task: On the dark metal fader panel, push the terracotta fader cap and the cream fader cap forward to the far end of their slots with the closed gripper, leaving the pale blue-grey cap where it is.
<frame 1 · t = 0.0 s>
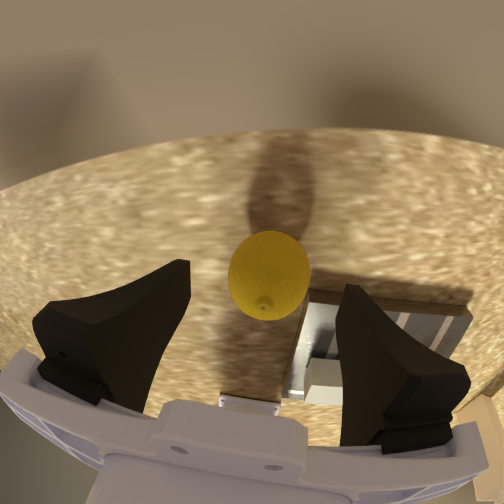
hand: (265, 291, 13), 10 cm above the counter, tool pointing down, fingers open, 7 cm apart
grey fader: (328, 382, 23), point 4 cm above the counter, slide at 0.0 cm
milk: (473, 404, 31), on the counter
lemon: (273, 247, 23), on the counter
panel: (375, 352, 26), on the counter
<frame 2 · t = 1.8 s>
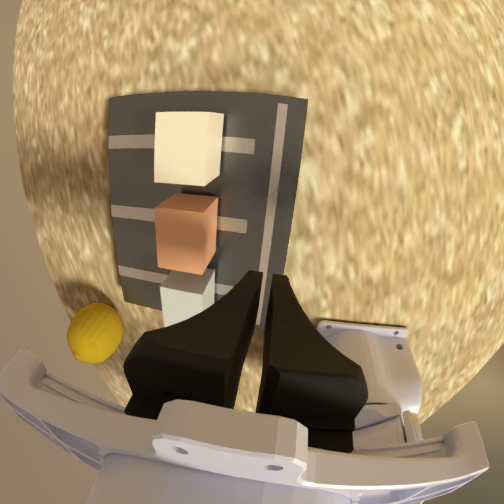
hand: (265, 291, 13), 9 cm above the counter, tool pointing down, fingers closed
cream fader: (189, 145, 15), point 4 cm above the counter, slide at 0.0 cm
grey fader: (189, 300, 20), point 4 cm above the counter, slide at 0.0 cm
terracotta fader: (187, 231, 18), point 4 cm above the counter, slide at 0.0 cm
lemon: (114, 308, 28), on the counter
panel: (199, 210, 21), on the counter
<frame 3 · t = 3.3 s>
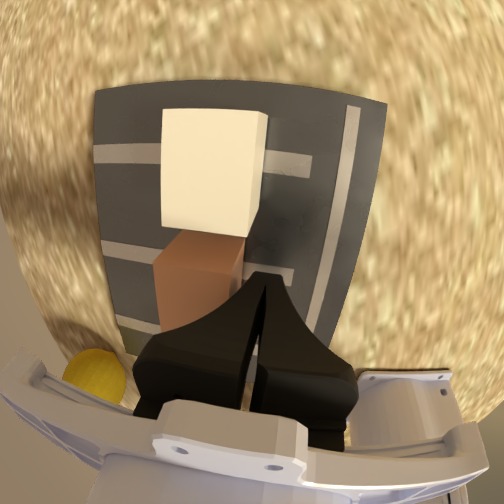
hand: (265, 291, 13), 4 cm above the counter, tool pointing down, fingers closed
cream fader: (217, 164, 10), point 4 cm above the counter, slide at 0.0 cm
terracotta fader: (202, 288, 12), point 4 cm above the counter, slide at 0.5 cm, touching gripper
lemon: (114, 352, 23), on the counter
panel: (223, 249, 16), on the counter
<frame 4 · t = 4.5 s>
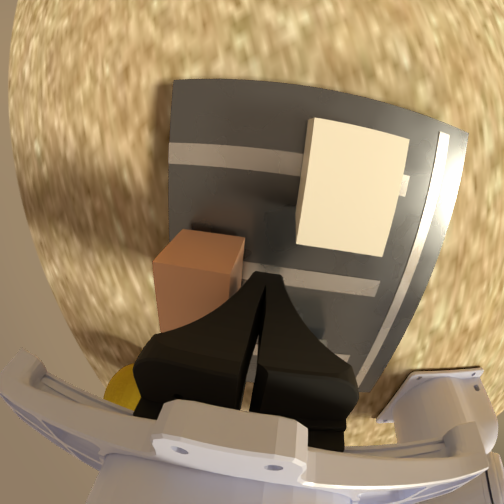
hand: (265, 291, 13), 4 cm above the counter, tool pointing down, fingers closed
cream fader: (344, 180, 9), point 4 cm above the counter, slide at 0.0 cm
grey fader: (293, 381, 14), point 4 cm above the counter, slide at 0.0 cm
terracotta fader: (202, 288, 12), point 4 cm above the counter, slide at 5.1 cm, touching gripper
lemon: (156, 365, 22), on the counter
panel: (303, 260, 16), on the counter
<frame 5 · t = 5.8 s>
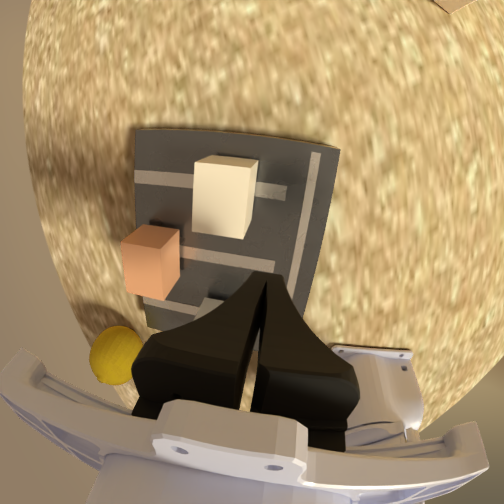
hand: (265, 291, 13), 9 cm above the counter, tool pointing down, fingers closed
cream fader: (226, 193, 16), point 4 cm above the counter, slide at 0.0 cm
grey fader: (217, 332, 21), point 4 cm above the counter, slide at 0.0 cm
terracotta fader: (152, 261, 19), point 4 cm above the counter, slide at 5.1 cm
lemon: (133, 329, 29), on the counter
panel: (226, 246, 22), on the counter
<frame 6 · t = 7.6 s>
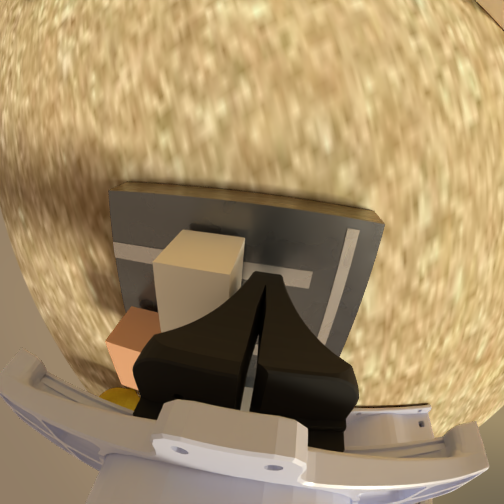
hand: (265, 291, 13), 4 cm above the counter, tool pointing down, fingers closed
cream fader: (202, 288, 12), point 4 cm above the counter, slide at 1.4 cm, touching gripper
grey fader: (226, 416, 17), point 4 cm above the counter, slide at 0.0 cm
terracotta fader: (146, 352, 15), point 4 cm above the counter, slide at 5.1 cm
lemon: (134, 388, 25), on the counter
panel: (233, 324, 18), on the counter
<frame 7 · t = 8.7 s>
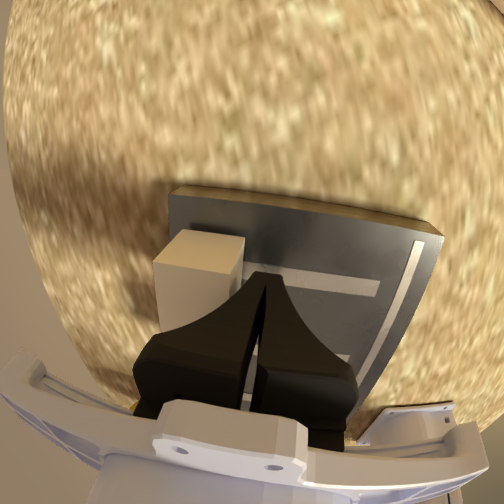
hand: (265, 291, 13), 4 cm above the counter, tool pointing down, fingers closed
cream fader: (202, 288, 12), point 4 cm above the counter, slide at 5.1 cm, touching gripper
panel: (287, 332, 18), on the counter
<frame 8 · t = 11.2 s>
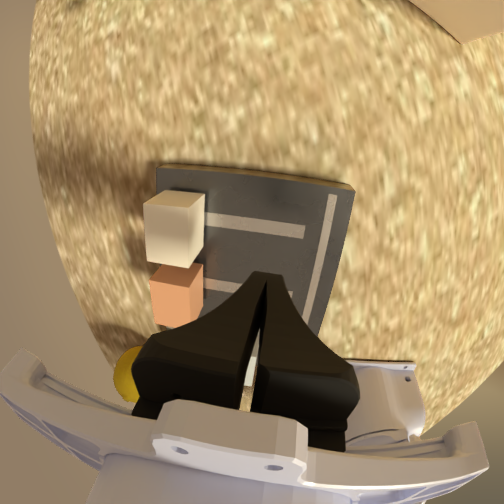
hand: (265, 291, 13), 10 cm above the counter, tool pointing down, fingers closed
cream fader: (175, 226, 18), point 4 cm above the counter, slide at 5.1 cm
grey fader: (239, 355, 23), point 4 cm above the counter, slide at 0.0 cm
terracotta fader: (178, 294, 21), point 4 cm above the counter, slide at 5.1 cm
milk: (443, 3, 11), on the counter
lemon: (153, 348, 31), on the counter
panel: (245, 276, 24), on the counter
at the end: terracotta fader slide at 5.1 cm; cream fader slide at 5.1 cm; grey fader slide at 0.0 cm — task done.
